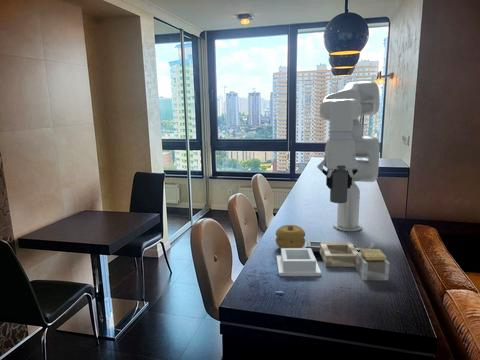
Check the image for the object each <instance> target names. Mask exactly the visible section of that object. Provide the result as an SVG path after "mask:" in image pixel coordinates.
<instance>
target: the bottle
mask: <svg viewBox="0 0 480 360" xmlns="http://www.w3.org/2000/svg"><path fill="white" fill-rule="evenodd" d="M344 168H346V167H345V166H337V170H333V171H332V174H331V178H332V188H331V189H329V193H330V194H329V201H330V202H331V203H333V204H338V203H346V202H347V190H348V172H347V171H346V169H344Z"/></svg>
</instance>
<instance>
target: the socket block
mask: <svg viewBox="0 0 480 360" xmlns="http://www.w3.org/2000/svg"><path fill="white" fill-rule="evenodd" d="M353 245H354V244H353V243H352V242H350V243H348V242H320V243H319V254H320V256H321V259H322V261H323V264H324V265H325V267H326V268H327V267H329V268H330V267H331V268H333V267H334V268H335V267H336V268H340V267H341V268H342V267H346V268H347V267H349V268H350V267H354V268H355V270H356V271H357V273H358V274H359V276H360V277H361V279H362V281H389V275H390V274H389V273H390V262H389V261H388V260H387V259H386V260H383V262H367V261H366V260H365V259H364V257H363V255H362V254H361V253H358V251H357V250H356V248H355V247H354V246H353Z"/></svg>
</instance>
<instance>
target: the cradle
mask: <svg viewBox="0 0 480 360" xmlns="http://www.w3.org/2000/svg"><path fill="white" fill-rule="evenodd" d="M276 264H277V270H278V277H321V276H322V271H321V269H320V266H319V264H318V261H317V258H316V257H315V255H314V252H313V249H312V248H311V247H302V248H281V249H280V255H278V254H277V255H276Z"/></svg>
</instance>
